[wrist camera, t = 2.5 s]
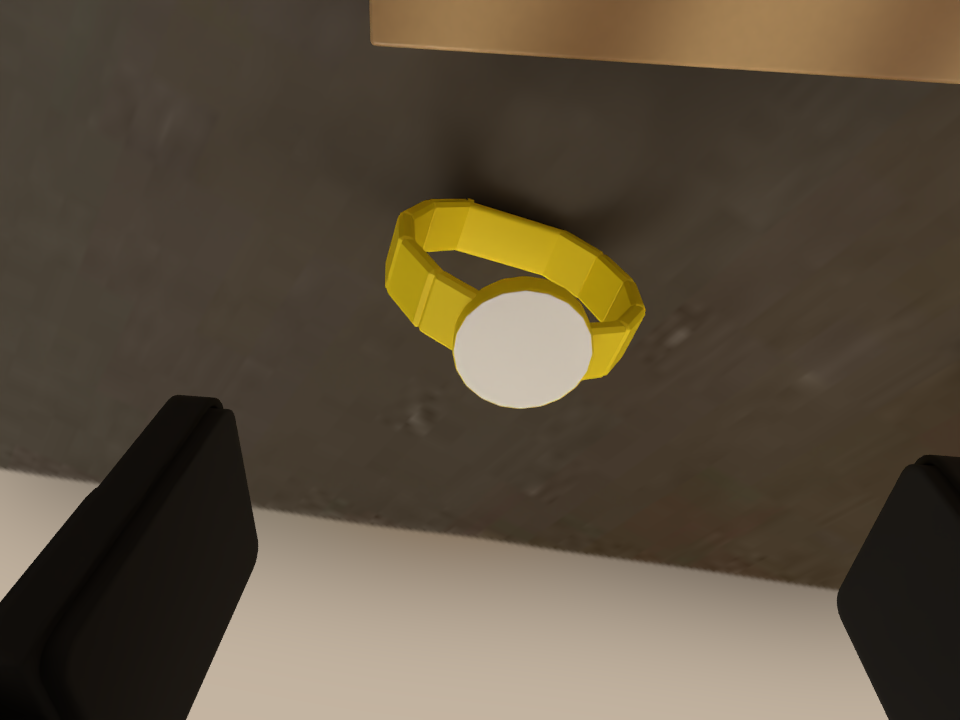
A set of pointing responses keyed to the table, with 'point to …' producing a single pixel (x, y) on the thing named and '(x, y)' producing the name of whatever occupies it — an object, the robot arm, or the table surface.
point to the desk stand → (694, 33)
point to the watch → (513, 301)
